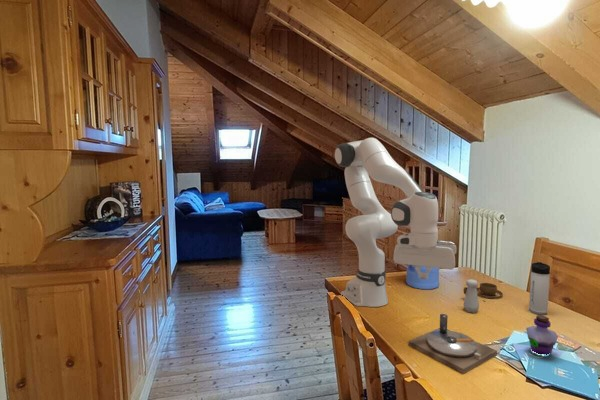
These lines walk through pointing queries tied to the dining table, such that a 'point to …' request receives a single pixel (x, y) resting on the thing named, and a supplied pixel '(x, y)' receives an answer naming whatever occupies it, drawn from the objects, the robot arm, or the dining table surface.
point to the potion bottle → (541, 336)
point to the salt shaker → (471, 296)
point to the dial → (451, 341)
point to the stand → (454, 362)
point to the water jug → (422, 283)
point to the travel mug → (539, 288)
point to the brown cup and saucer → (487, 291)
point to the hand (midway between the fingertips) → (423, 278)
